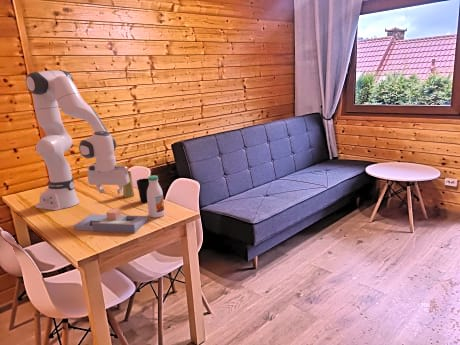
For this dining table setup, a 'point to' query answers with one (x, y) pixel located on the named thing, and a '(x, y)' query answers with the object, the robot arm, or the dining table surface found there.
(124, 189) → the vase
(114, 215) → the block
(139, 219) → the board
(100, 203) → the dining table surface
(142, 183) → the cup
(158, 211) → the milk bottle
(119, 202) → the dining table surface
